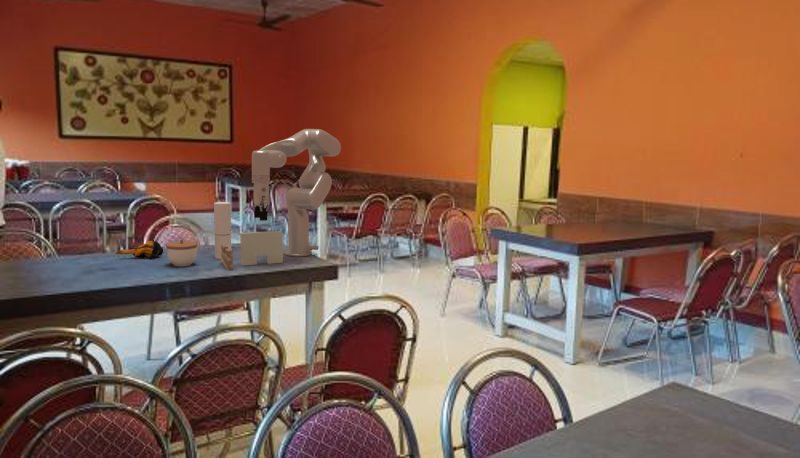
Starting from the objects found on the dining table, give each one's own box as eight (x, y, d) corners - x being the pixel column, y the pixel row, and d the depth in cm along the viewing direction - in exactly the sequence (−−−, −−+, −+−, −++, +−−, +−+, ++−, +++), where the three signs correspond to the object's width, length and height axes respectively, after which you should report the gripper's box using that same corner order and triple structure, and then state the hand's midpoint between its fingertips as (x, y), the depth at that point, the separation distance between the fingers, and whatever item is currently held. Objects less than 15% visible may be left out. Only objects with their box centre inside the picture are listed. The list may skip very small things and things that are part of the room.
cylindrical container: (233, 256, 283) (232, 202, 279) (227, 259, 276) (226, 204, 272) (218, 255, 284) (217, 201, 280) (212, 258, 277) (211, 203, 273)
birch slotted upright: (226, 262, 269) (225, 244, 268) (233, 269, 256) (232, 250, 255) (221, 262, 268) (221, 244, 267) (228, 270, 255) (227, 251, 254)
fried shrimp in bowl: (167, 248, 273) (126, 239, 262) (158, 268, 276) (117, 260, 265) (164, 238, 280) (123, 228, 269) (154, 257, 283) (114, 249, 272)
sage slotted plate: (281, 261, 274) (281, 230, 271) (282, 262, 272) (282, 231, 270) (240, 264, 266) (240, 232, 263) (241, 265, 264) (241, 233, 262)
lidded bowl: (187, 268, 256) (187, 242, 254) (160, 266, 258) (159, 241, 256) (203, 262, 268) (202, 237, 266) (177, 260, 270) (176, 236, 269)
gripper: (274, 180, 257) (274, 221, 259) (264, 178, 272) (264, 216, 274) (256, 180, 253) (256, 221, 256) (247, 178, 269) (247, 216, 271)
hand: (260, 219), depth 265 cm, fingers open, 9 cm apart
